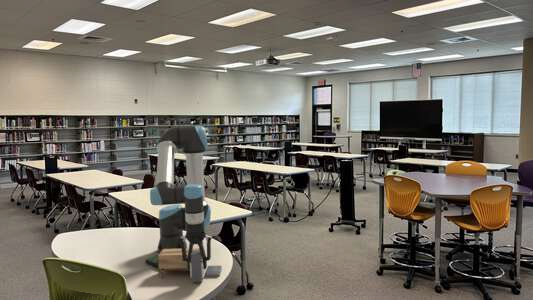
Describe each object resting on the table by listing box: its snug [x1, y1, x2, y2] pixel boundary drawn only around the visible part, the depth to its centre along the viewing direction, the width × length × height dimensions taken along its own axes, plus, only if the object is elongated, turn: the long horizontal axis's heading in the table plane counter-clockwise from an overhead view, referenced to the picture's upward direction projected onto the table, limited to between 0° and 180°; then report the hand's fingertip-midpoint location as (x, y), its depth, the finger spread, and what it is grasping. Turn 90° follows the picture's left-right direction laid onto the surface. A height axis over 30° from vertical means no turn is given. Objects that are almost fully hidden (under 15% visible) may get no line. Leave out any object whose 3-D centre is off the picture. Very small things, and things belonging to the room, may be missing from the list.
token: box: [205, 265, 223, 278], centre depth 172 cm, size 6×6×3 cm
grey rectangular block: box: [191, 251, 207, 283], centre depth 167 cm, size 13×4×12 cm, turn 179°
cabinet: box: [157, 247, 200, 279], centre depth 173 cm, size 8×18×11 cm, turn 88°
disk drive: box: [144, 254, 164, 271], centre depth 186 cm, size 10×3×15 cm
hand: (197, 276), depth 163 cm, fingers closed on grey rectangular block, 4 cm apart
